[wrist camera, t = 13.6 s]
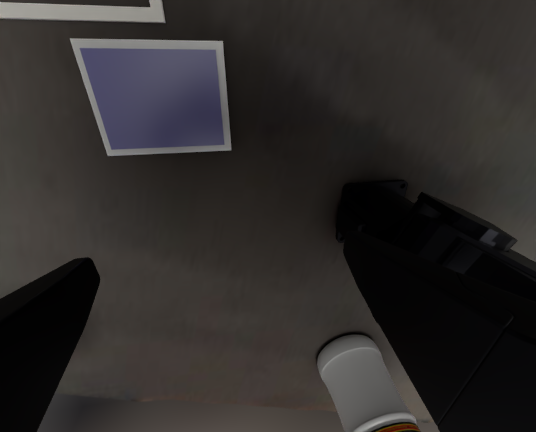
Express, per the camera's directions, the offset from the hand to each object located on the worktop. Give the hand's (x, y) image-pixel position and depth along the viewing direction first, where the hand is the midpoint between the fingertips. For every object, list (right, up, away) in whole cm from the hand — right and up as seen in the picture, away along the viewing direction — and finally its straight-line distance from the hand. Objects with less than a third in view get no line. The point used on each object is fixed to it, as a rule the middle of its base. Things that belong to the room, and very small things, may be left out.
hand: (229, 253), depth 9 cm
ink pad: (-6, +10, +9) cm, 14 cm away
